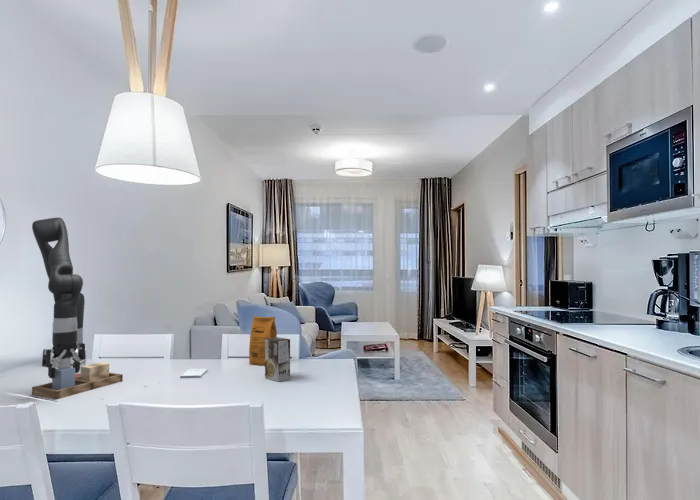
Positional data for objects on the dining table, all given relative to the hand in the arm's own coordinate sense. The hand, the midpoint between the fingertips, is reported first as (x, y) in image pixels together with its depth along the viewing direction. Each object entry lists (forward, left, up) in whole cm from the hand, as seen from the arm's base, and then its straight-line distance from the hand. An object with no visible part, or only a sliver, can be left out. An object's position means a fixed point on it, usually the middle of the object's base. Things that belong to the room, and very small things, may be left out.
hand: (64, 375), depth 161 cm
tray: (-6, 0, -7) cm, 9 cm away
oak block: (-12, 0, -6) cm, 13 cm away
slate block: (0, 0, -6) cm, 6 cm away
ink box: (-16, -16, -7) cm, 24 cm away
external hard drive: (-41, +22, -7) cm, 47 cm away
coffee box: (-49, +58, -7) cm, 76 cm away
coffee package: (-70, +36, -7) cm, 79 cm away
